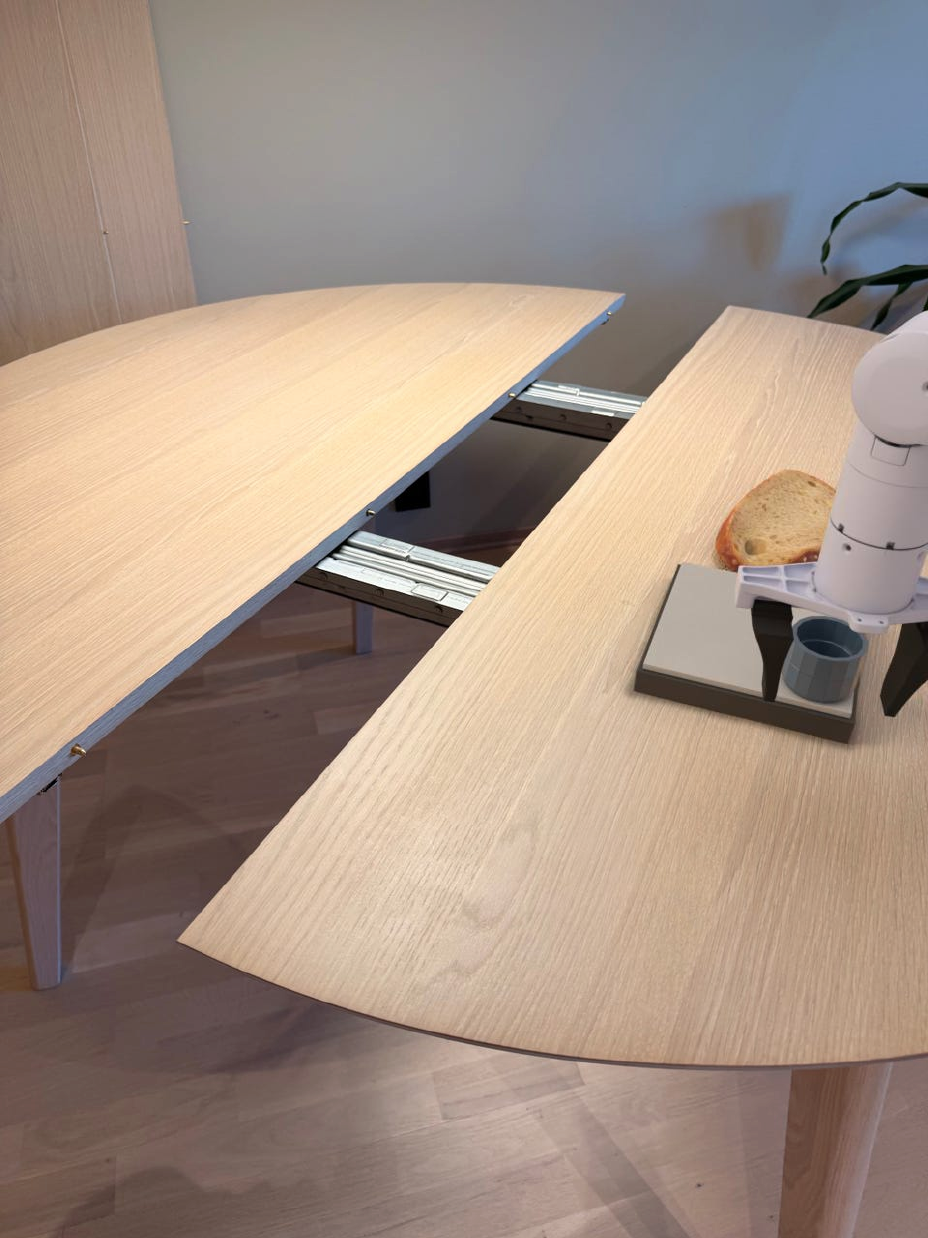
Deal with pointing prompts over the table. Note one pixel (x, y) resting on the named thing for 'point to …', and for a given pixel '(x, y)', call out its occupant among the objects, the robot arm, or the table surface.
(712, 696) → the scale
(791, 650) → the cup
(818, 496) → the slice of bread
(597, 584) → the table surface
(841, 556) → the robot arm
